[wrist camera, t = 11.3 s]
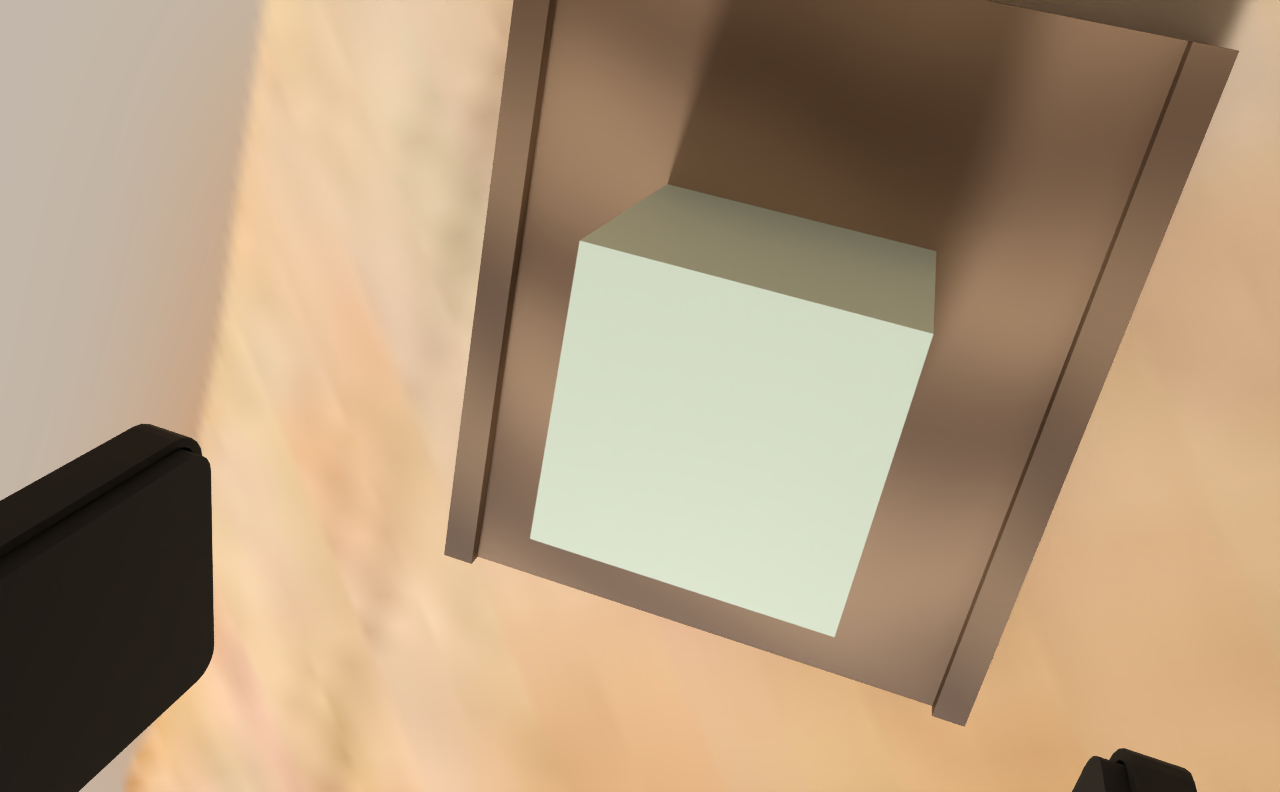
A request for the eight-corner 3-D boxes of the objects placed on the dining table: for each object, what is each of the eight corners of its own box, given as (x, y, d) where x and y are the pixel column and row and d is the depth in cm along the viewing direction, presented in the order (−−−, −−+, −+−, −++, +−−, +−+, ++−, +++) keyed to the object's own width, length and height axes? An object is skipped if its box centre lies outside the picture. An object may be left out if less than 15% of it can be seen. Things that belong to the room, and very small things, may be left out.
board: (557, -85, 23) (525, -93, 21) (1214, 46, 20) (1239, 50, 18) (474, 522, 29) (443, 554, 27) (963, 680, 26) (964, 726, 25)
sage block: (667, 184, 22) (579, 240, 17) (936, 251, 21) (933, 333, 16) (619, 423, 25) (530, 538, 20) (859, 494, 24) (834, 637, 18)
